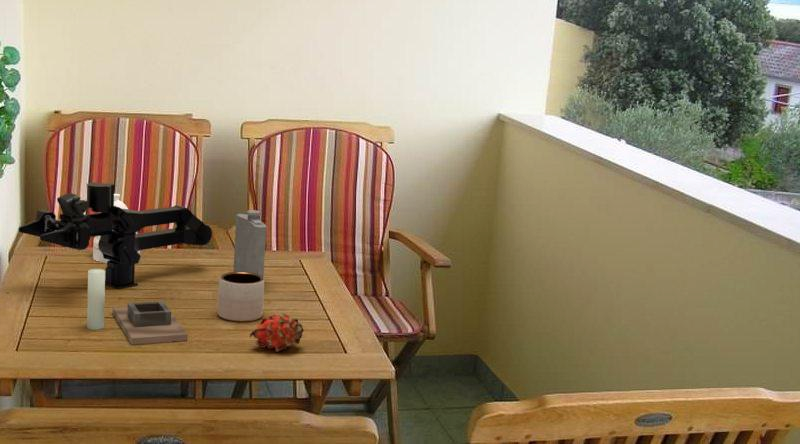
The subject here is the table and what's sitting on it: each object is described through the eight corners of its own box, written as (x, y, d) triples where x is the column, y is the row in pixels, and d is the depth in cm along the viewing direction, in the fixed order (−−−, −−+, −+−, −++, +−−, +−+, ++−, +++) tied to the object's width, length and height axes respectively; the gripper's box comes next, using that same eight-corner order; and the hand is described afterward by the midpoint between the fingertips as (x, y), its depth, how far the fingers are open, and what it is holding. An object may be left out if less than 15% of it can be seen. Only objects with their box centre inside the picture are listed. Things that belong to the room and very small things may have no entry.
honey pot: (86, 254, 269) (87, 192, 266) (129, 250, 277) (131, 190, 273) (102, 265, 260) (103, 201, 256) (147, 261, 267) (149, 199, 264)
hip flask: (231, 276, 261) (235, 205, 256) (245, 275, 263) (249, 204, 259) (253, 292, 247) (257, 217, 243) (267, 291, 249) (272, 217, 245)
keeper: (112, 313, 222) (112, 294, 221) (163, 310, 227) (164, 292, 226) (131, 345, 203) (132, 325, 202) (187, 340, 208) (188, 321, 207)
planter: (270, 313, 232) (272, 276, 230) (249, 325, 221) (251, 286, 219) (231, 306, 235) (233, 268, 233) (208, 317, 225) (210, 278, 223)
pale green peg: (97, 323, 214) (99, 268, 211) (107, 327, 212) (108, 271, 209) (83, 326, 211) (84, 270, 208) (93, 330, 209) (94, 274, 206)
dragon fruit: (306, 355, 210) (253, 365, 206) (298, 324, 215) (246, 333, 212) (309, 334, 203) (253, 343, 200) (300, 302, 209) (246, 311, 205)
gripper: (67, 187, 237) (8, 192, 225) (111, 200, 226) (51, 207, 214) (66, 230, 240) (8, 238, 228) (110, 246, 228) (51, 255, 216)
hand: (29, 233), depth 221 cm, fingers open, 9 cm apart
